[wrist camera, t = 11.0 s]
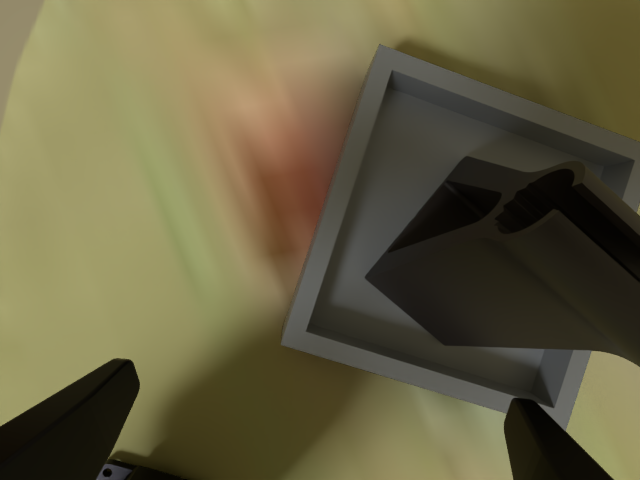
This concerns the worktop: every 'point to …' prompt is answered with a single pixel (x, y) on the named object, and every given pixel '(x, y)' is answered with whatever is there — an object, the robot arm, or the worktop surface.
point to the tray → (402, 206)
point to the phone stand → (520, 261)
